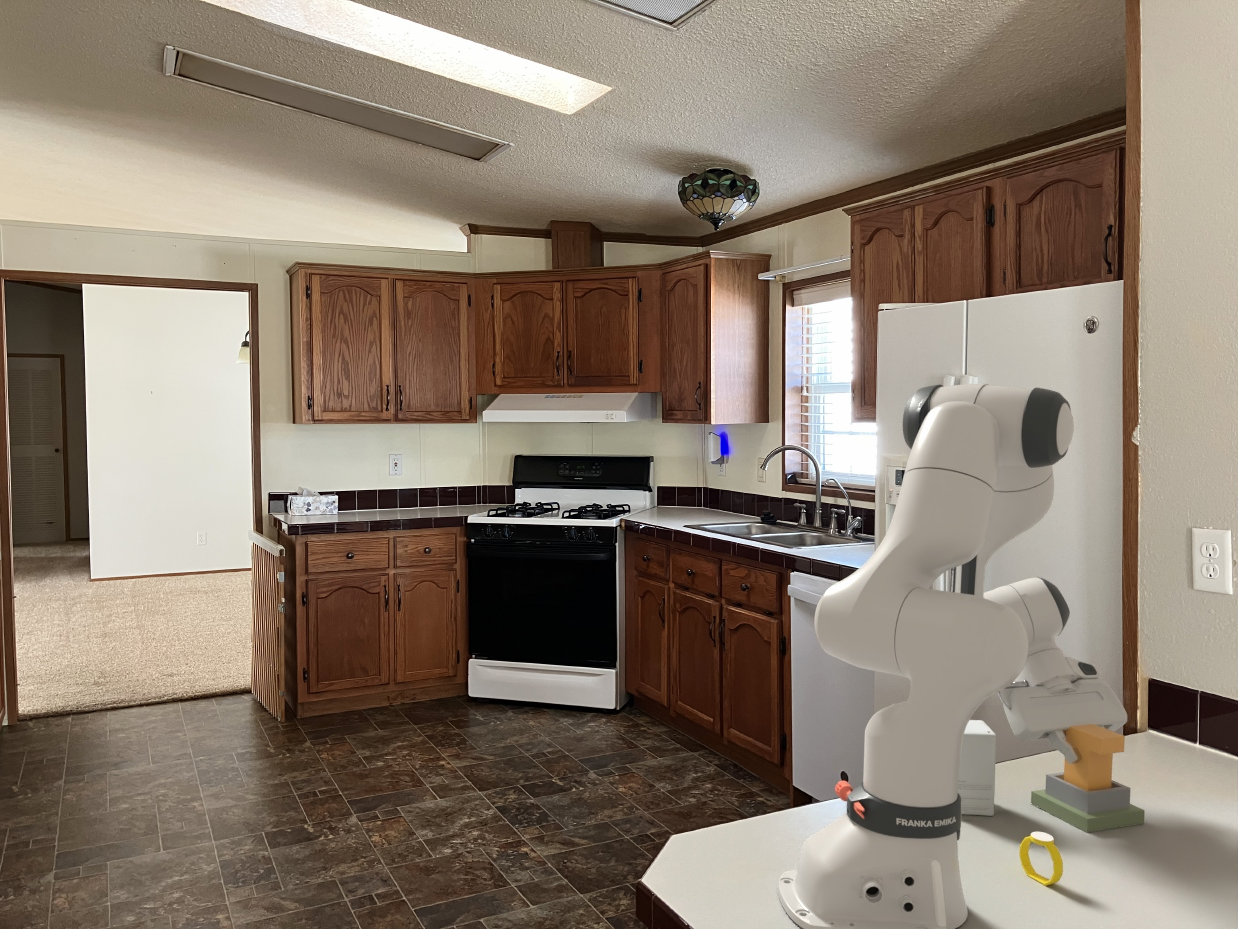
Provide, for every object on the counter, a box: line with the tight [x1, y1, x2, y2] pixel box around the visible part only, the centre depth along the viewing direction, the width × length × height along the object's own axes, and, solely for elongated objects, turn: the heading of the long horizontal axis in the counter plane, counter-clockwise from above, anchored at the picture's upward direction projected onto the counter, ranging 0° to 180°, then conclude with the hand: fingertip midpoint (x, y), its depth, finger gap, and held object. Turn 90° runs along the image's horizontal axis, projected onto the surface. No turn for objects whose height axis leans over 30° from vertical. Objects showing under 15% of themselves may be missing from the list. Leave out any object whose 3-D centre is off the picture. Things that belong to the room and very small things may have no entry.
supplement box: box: [958, 719, 997, 817], centre depth 149 cm, size 7×7×13 cm
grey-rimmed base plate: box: [1030, 771, 1146, 833], centre depth 147 cm, size 11×11×5 cm
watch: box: [1018, 831, 1064, 887], centre depth 125 cm, size 6×3×6 cm, turn 23°
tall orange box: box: [1063, 724, 1126, 791], centre depth 146 cm, size 7×5×10 cm
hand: (1091, 759), depth 146 cm, fingers closed on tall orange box, 5 cm apart
